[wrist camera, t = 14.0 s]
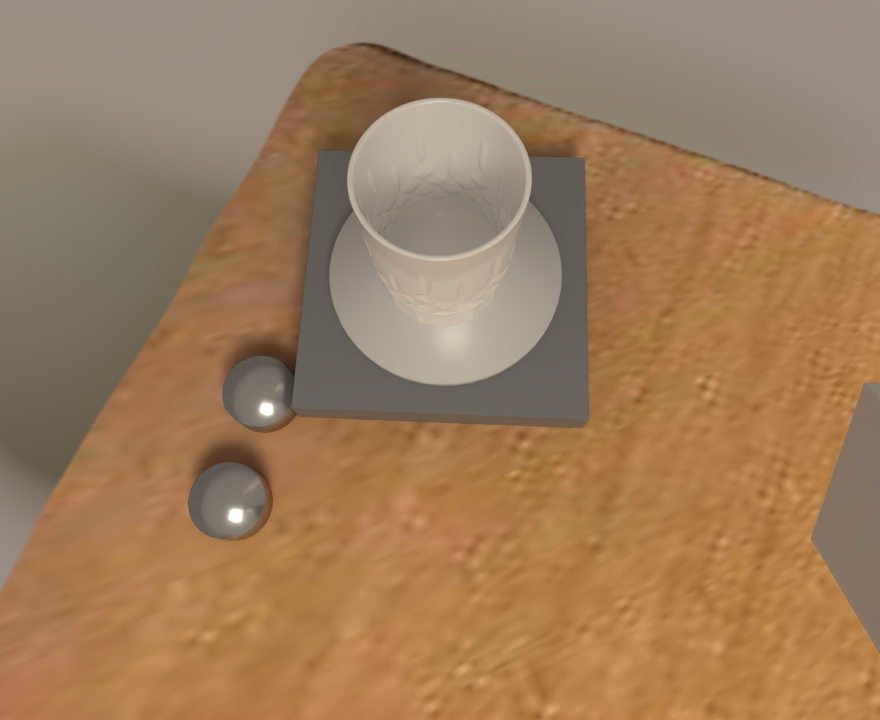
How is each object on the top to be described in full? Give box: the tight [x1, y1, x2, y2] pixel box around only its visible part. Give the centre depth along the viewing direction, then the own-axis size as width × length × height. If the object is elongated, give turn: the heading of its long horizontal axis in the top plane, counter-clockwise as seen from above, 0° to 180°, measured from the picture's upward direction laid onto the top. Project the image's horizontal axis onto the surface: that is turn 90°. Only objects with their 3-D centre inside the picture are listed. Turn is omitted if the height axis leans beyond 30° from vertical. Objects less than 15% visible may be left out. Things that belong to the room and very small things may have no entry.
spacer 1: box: [222, 356, 297, 433], centre depth 41 cm, size 4×4×2 cm
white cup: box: [347, 98, 532, 327], centre depth 35 cm, size 8×8×10 cm
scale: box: [291, 150, 589, 428], centre depth 42 cm, size 16×17×3 cm
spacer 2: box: [188, 462, 273, 541], centre depth 39 cm, size 4×4×2 cm
